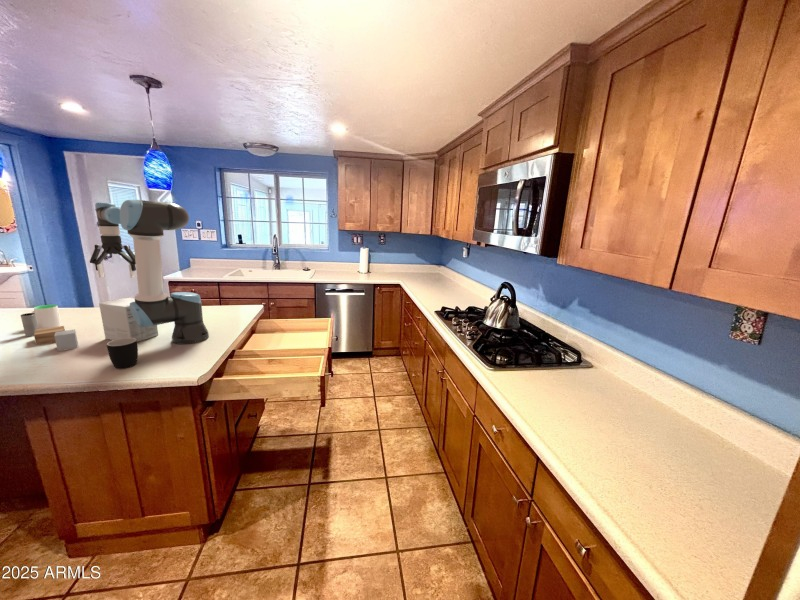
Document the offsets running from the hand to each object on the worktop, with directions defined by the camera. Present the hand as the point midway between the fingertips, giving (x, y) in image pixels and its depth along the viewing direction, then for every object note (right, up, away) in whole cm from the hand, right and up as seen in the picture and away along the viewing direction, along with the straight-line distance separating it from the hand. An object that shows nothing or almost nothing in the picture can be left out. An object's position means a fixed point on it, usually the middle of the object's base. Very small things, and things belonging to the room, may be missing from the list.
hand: (117, 277), depth 162 cm
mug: (+35, -38, -36) cm, 63 cm away
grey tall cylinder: (-31, -29, -11) cm, 44 cm away
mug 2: (-37, -26, 0) cm, 45 cm away
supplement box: (+14, -30, -8) cm, 34 cm away
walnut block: (-17, -30, -15) cm, 38 cm away
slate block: (-2, -33, -22) cm, 40 cm away
